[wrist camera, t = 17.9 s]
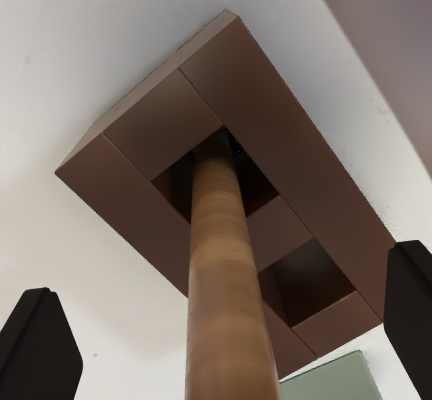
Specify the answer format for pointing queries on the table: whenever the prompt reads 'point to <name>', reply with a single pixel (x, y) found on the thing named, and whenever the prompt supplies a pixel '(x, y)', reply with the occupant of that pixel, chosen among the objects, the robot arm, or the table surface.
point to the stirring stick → (224, 288)
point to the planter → (334, 382)
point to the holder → (241, 190)
